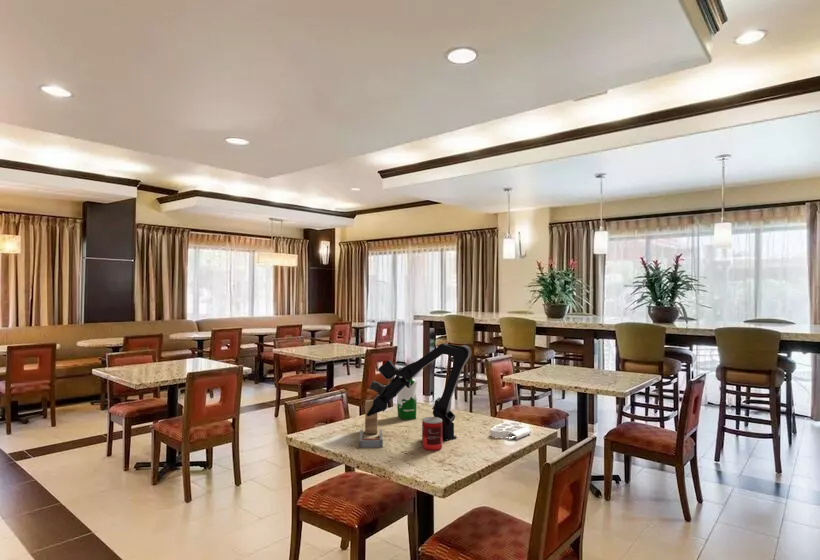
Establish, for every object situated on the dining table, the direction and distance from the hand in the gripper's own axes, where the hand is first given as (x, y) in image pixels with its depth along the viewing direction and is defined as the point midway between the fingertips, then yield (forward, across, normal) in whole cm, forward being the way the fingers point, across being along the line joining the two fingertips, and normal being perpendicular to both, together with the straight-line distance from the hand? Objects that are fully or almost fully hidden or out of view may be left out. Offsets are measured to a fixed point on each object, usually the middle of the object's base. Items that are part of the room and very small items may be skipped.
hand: (368, 413), depth 206 cm
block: (+4, 0, +6) cm, 8 cm away
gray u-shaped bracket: (+4, +12, +8) cm, 15 cm away
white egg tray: (-36, 0, +49) cm, 60 cm away
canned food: (-13, +20, +25) cm, 34 cm away
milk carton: (-5, -26, +17) cm, 31 cm away
